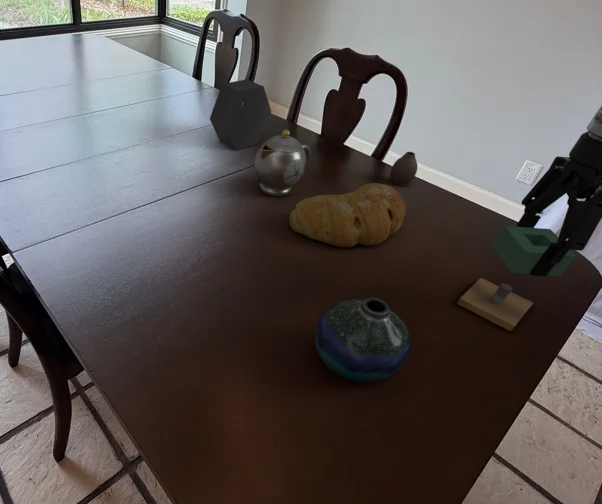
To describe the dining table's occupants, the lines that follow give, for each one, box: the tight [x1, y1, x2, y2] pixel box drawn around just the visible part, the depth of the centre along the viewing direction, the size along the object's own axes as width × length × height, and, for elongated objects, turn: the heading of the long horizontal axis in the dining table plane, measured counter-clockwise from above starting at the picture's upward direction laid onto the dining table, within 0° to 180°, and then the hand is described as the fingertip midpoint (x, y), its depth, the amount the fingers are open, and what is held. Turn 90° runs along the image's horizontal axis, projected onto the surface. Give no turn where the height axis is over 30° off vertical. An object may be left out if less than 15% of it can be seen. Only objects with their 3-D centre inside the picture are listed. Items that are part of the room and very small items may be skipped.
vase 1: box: [314, 297, 412, 383], centre depth 74 cm, size 15×15×13 cm
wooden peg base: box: [456, 277, 534, 332], centre depth 90 cm, size 11×11×5 cm
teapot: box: [253, 128, 312, 198], centre depth 118 cm, size 18×14×16 cm
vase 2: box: [389, 151, 418, 187], centre depth 128 cm, size 7×7×9 cm
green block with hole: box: [491, 225, 577, 277], centre depth 82 cm, size 9×9×4 cm
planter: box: [209, 79, 272, 151], centre depth 139 cm, size 17×8×21 cm
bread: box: [288, 182, 407, 248], centre depth 108 cm, size 32×20×10 cm, turn 116°
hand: (524, 259), depth 84 cm, fingers closed on green block with hole, 9 cm apart
